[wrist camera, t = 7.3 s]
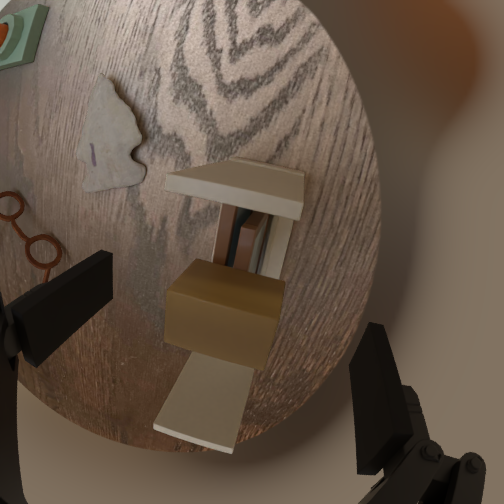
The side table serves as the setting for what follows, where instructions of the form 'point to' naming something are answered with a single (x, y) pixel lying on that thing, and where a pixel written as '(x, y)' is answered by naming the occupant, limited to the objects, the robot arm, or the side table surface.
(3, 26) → the button
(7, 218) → the glasses
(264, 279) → the pane
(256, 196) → the window frame
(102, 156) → the decorative stone
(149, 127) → the side table surface
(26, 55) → the button box
